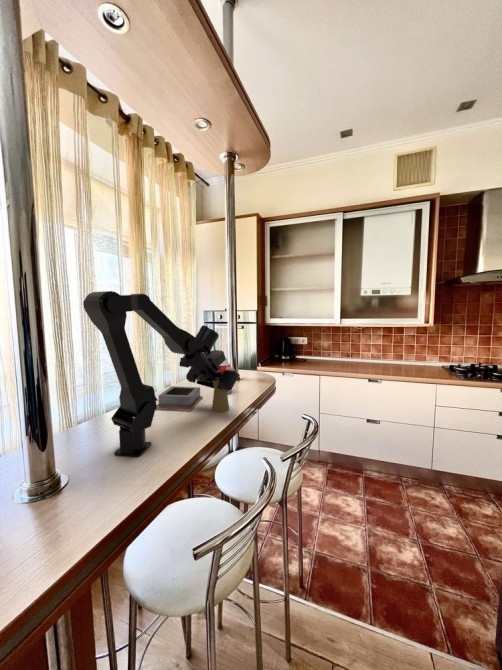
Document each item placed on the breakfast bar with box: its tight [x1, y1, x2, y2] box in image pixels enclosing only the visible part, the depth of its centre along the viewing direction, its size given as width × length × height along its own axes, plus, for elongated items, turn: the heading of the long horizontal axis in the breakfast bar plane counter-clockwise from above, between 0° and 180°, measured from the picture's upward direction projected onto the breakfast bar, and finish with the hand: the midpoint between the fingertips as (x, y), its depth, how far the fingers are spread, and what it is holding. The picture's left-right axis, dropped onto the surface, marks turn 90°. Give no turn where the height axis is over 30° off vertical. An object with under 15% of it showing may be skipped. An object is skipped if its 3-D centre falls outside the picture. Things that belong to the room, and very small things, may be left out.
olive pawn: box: [211, 379, 230, 413], centre depth 97 cm, size 6×6×11 cm
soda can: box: [218, 361, 233, 395], centre depth 116 cm, size 7×7×12 cm
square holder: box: [155, 385, 203, 413], centre depth 103 cm, size 14×13×4 cm
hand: (223, 389), depth 98 cm, fingers closed on olive pawn, 5 cm apart
